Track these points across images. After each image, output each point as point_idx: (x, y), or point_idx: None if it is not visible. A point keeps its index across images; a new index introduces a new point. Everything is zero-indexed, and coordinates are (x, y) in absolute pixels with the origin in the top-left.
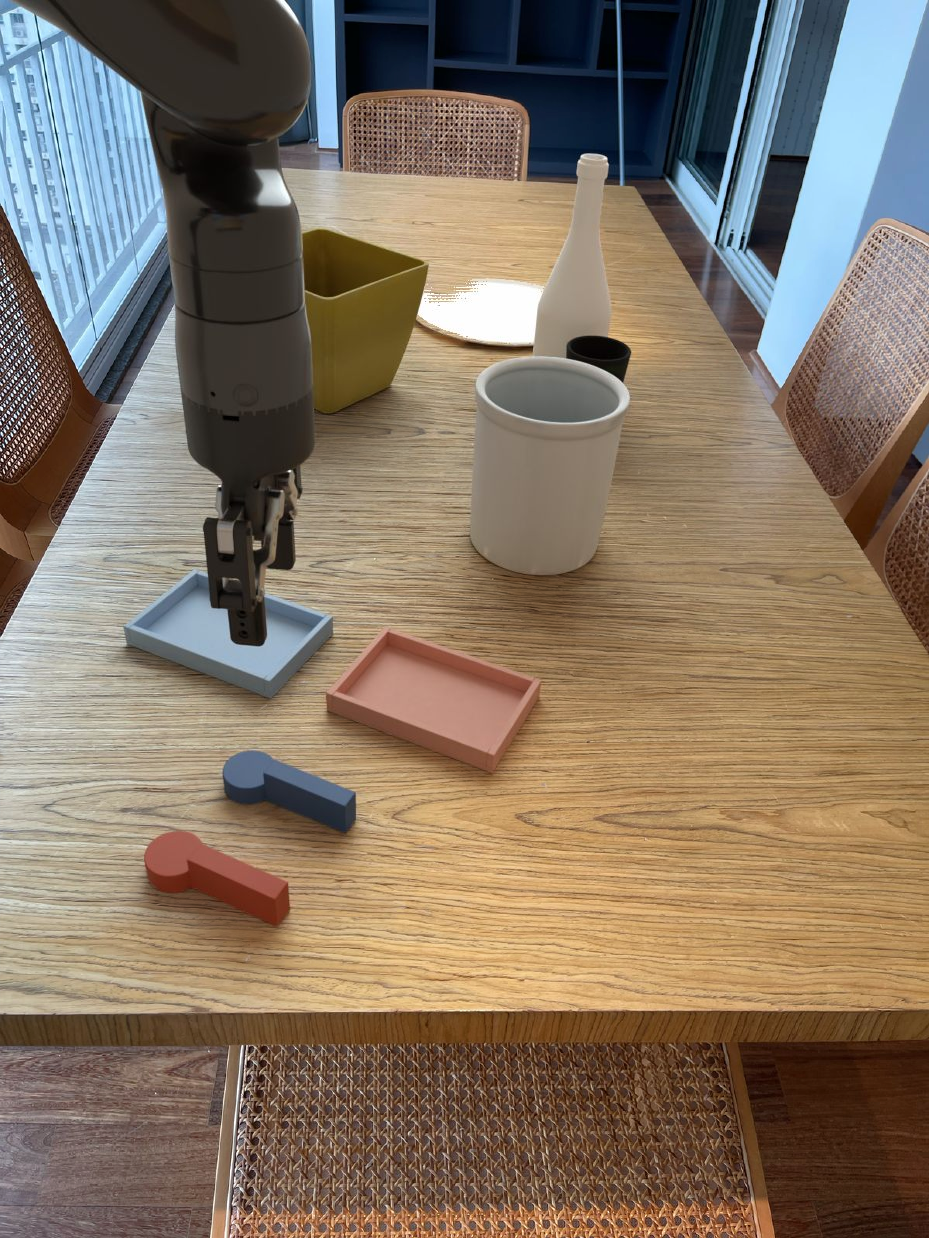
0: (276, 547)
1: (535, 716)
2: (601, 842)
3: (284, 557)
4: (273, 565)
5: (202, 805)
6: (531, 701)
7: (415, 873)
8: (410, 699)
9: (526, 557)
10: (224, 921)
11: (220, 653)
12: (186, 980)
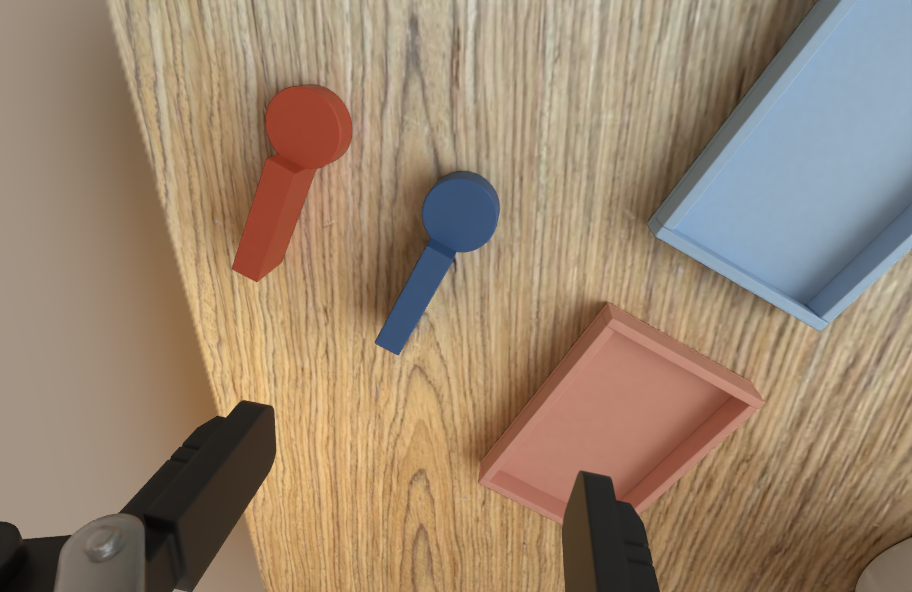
0: (576, 560)
1: None
2: (393, 522)
3: (569, 542)
4: (575, 492)
5: (426, 143)
6: None
7: (343, 379)
8: (608, 405)
9: (889, 590)
10: (255, 193)
11: (786, 130)
12: (179, 160)
